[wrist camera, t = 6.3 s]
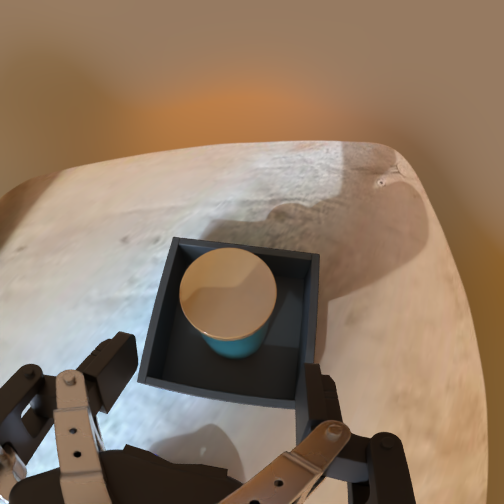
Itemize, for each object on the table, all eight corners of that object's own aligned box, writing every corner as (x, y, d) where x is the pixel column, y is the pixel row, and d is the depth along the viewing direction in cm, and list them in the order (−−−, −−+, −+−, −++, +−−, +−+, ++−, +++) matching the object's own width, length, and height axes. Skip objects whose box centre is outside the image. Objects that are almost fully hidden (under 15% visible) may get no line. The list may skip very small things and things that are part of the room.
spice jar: (191, 340, 22) (160, 305, 14) (224, 289, 24) (213, 232, 16) (247, 373, 21) (245, 357, 13) (279, 318, 23) (293, 273, 15)
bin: (154, 386, 20) (136, 382, 17) (183, 260, 26) (173, 236, 22) (298, 408, 20) (308, 410, 16) (310, 276, 25) (319, 254, 22)
